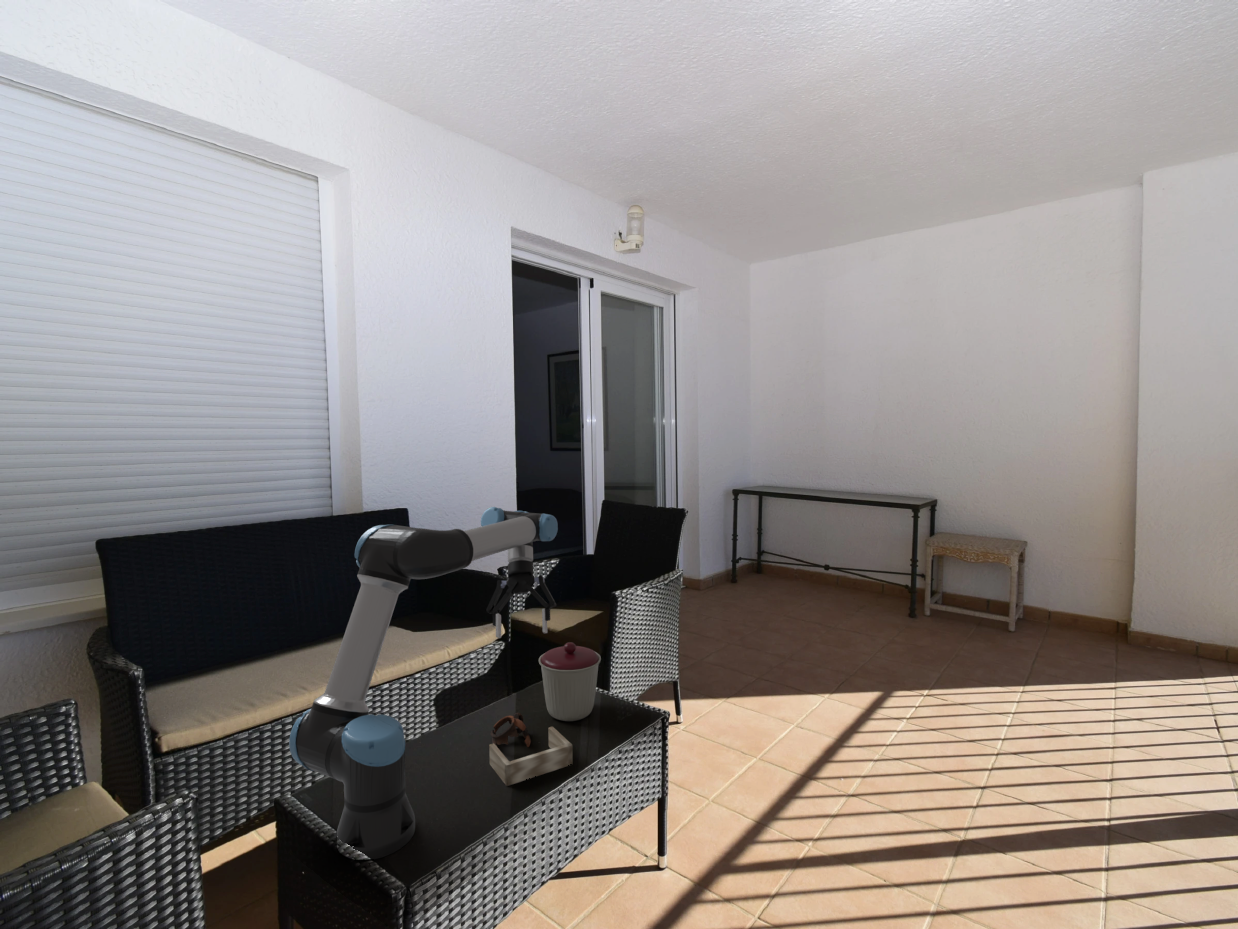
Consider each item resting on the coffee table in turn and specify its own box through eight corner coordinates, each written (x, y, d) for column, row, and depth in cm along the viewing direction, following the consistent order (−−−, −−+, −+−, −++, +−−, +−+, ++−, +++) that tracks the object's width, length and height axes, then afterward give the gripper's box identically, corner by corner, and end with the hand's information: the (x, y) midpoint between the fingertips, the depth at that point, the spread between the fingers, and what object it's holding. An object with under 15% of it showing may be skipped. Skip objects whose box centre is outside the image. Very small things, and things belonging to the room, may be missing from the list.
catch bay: (506, 786, 145) (506, 765, 144) (489, 764, 154) (489, 744, 154) (572, 764, 154) (572, 745, 154) (552, 744, 163) (552, 726, 163)
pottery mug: (530, 755, 159) (513, 731, 157) (499, 767, 161) (482, 744, 159) (538, 722, 171) (523, 699, 169) (509, 733, 173) (494, 711, 171)
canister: (564, 735, 169) (563, 659, 167) (526, 712, 182) (526, 642, 181) (613, 714, 181) (613, 643, 179) (575, 694, 194) (574, 628, 193)
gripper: (564, 561, 187) (567, 632, 179) (484, 570, 189) (483, 641, 181) (558, 554, 181) (561, 628, 172) (475, 564, 183) (474, 637, 174)
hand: (521, 635), depth 176 cm, fingers open, 13 cm apart
